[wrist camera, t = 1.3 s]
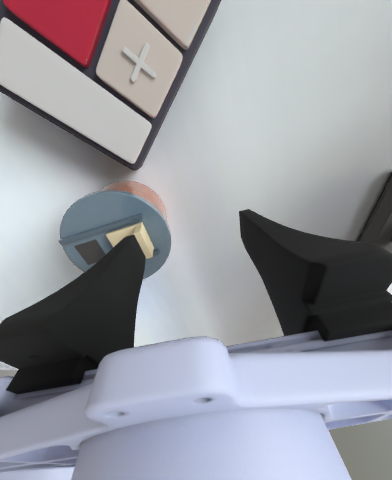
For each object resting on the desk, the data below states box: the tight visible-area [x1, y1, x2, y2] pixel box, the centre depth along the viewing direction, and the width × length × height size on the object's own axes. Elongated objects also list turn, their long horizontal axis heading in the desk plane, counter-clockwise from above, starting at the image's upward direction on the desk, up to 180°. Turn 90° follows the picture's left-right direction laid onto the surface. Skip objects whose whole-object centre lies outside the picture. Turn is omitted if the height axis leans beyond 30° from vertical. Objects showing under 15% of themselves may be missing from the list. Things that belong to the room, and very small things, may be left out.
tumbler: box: [59, 181, 171, 279], centre depth 19 cm, size 9×9×7 cm
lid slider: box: [106, 222, 154, 259], centre depth 15 cm, size 3×3×2 cm
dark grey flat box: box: [0, 0, 221, 170], centre depth 13 cm, size 11×4×15 cm
